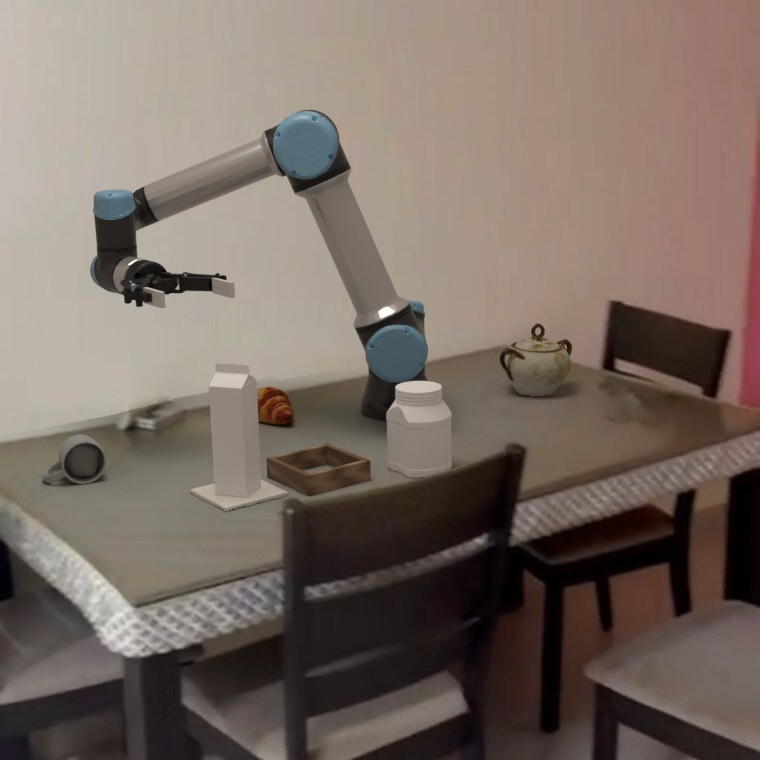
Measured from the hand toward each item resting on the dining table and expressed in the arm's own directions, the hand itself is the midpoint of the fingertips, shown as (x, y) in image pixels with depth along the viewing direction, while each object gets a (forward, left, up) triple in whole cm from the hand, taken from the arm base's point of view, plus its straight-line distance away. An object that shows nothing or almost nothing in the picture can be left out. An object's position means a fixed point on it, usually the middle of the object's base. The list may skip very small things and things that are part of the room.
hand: (198, 295), depth 215 cm
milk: (+2, +14, -32) cm, 34 cm away
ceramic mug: (+20, -12, -32) cm, 40 cm away
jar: (-30, +23, -32) cm, 50 cm away
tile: (+2, +14, -32) cm, 35 cm away
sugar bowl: (-82, -1, -32) cm, 88 cm away
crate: (-13, +16, -32) cm, 38 cm away
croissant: (-27, -24, -32) cm, 49 cm away
